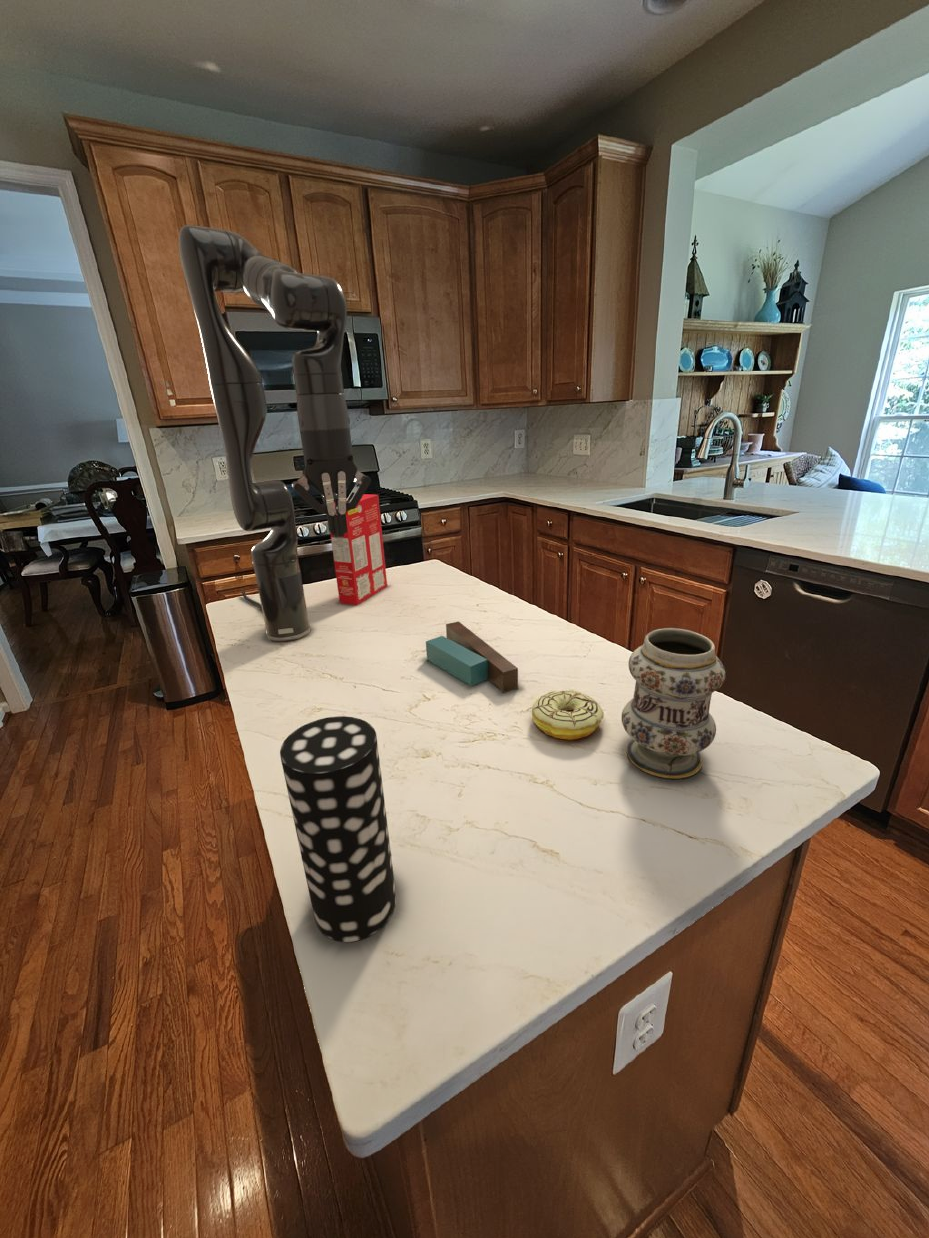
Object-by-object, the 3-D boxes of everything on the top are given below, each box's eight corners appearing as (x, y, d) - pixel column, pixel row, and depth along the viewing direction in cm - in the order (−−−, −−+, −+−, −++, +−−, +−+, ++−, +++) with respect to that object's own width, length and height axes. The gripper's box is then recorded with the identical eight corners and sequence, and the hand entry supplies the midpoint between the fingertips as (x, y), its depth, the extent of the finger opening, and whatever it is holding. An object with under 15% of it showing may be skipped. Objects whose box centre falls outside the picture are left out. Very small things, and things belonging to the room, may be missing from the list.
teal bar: (426, 659, 105) (425, 641, 103) (443, 653, 107) (442, 635, 105) (471, 686, 94) (470, 666, 93) (488, 679, 97) (487, 659, 95)
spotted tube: (321, 874, 58) (291, 719, 50) (397, 866, 59) (379, 713, 51) (307, 946, 50) (269, 777, 43) (394, 937, 51) (373, 768, 43)
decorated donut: (614, 720, 83) (616, 700, 82) (577, 753, 76) (579, 731, 74) (557, 698, 90) (558, 678, 88) (519, 726, 82) (519, 705, 81)
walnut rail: (446, 641, 112) (445, 624, 111) (459, 638, 113) (458, 621, 112) (503, 692, 92) (503, 672, 90) (518, 688, 93) (518, 668, 92)
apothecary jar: (728, 761, 73) (750, 643, 66) (673, 798, 67) (692, 672, 60) (654, 721, 82) (667, 614, 75) (600, 751, 76) (609, 637, 69)
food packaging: (371, 584, 148) (360, 494, 139) (387, 586, 146) (378, 494, 137) (339, 602, 136) (326, 504, 126) (357, 605, 134) (344, 505, 124)
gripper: (359, 423, 87) (370, 527, 94) (276, 427, 82) (294, 537, 89) (373, 424, 81) (383, 535, 88) (284, 429, 76) (302, 547, 83)
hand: (338, 536), depth 88 cm, fingers closed
